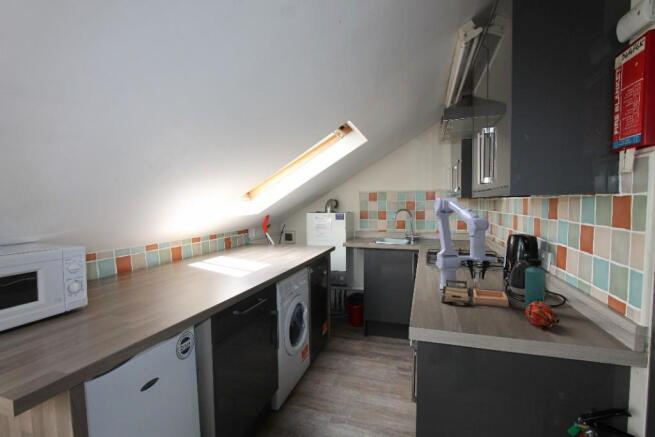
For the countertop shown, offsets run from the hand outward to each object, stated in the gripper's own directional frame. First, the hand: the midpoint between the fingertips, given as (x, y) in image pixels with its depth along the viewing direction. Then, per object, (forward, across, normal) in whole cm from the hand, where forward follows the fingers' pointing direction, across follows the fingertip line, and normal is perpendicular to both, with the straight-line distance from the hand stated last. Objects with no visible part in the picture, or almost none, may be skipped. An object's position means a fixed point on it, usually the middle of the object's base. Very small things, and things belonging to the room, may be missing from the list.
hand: (477, 278), depth 130 cm
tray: (+10, +5, +2) cm, 11 cm away
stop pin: (+4, 0, 0) cm, 4 cm away
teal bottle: (+10, +19, -4) cm, 22 cm away
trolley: (+10, -8, +2) cm, 13 cm away
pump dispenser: (+10, +19, +18) cm, 29 cm away
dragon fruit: (+10, +19, -20) cm, 29 cm away
